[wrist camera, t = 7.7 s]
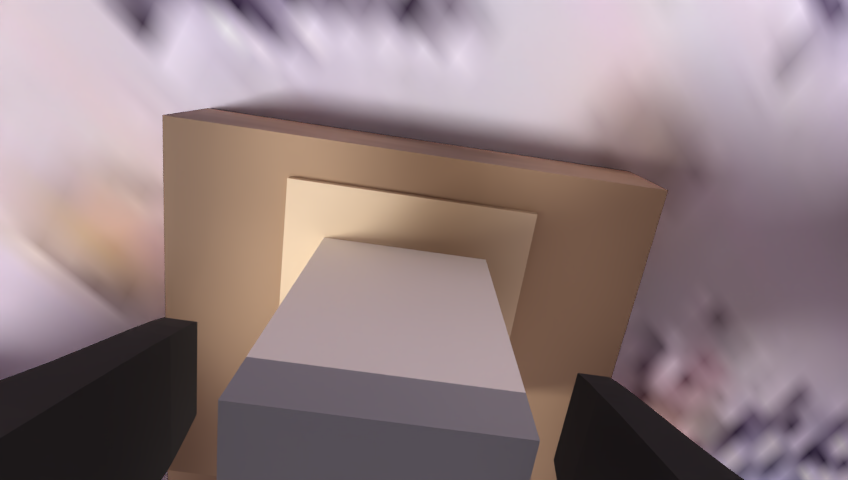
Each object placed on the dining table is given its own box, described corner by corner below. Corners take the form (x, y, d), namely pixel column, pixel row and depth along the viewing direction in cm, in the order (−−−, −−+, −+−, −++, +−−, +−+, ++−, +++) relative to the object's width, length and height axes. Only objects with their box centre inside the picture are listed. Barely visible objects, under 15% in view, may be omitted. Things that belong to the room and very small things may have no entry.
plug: (311, 377, 14) (213, 630, 7) (324, 237, 12) (218, 399, 6) (459, 396, 14) (483, 661, 8) (485, 259, 12) (539, 440, 6)
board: (201, 582, 20) (167, 658, 17) (207, 108, 14) (158, 115, 11) (506, 617, 20) (517, 697, 17) (628, 171, 14) (672, 192, 12)
